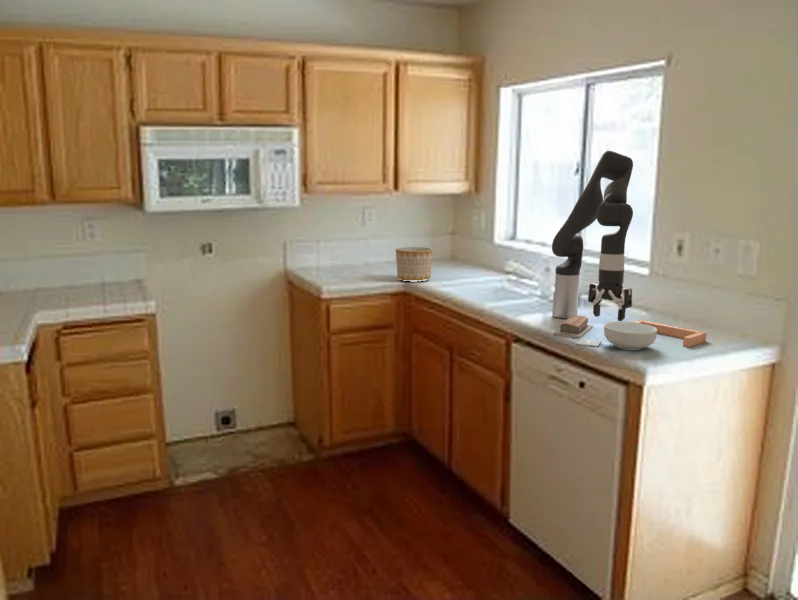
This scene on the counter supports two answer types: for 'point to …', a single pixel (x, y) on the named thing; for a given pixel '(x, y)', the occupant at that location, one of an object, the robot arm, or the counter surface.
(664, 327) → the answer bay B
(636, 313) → the counter surface
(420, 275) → the planter
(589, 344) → the tile
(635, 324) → the cereal bowl
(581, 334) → the packaged product
